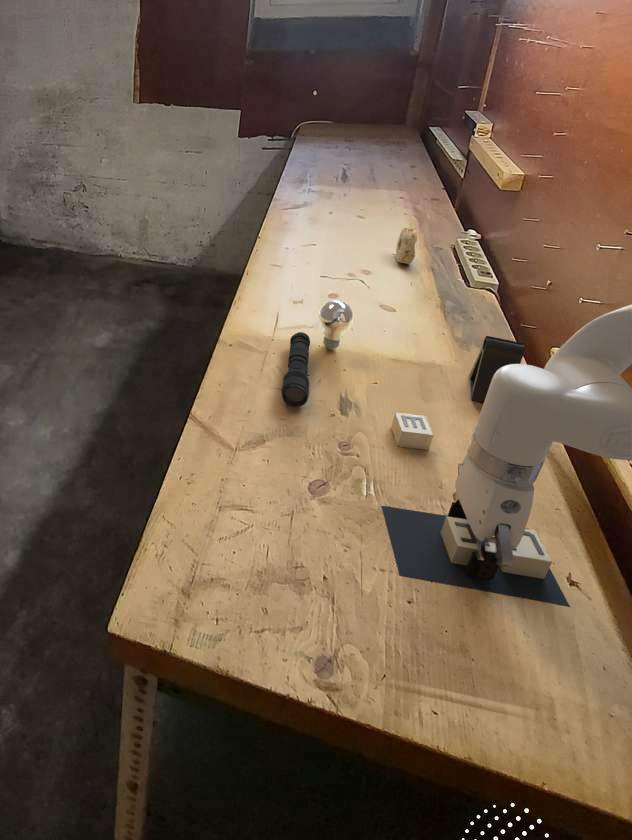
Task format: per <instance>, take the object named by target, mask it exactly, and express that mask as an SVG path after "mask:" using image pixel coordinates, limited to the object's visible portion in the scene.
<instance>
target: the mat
mask: <svg viewBox="0 0 632 840" xmlns="http://www.w3.org/2000/svg"><path fill="white" fill-rule="evenodd" d="M380 507H381V510H382V513H383V518H384V522H385V525H386V529H387V530H386V531H387V533H388V536H389V541H390V544H391V548H392V553H393V556H394V560H395V563H396V567H397V572H398V575H399V576H400V577H405V578H410V579H415V580H420V581H427V582H432V583H438V584H442V585H443V584H444V585H449V586H453V587H459V588H464V589H469V590H476V591H482V592H487V593H493V594H498V595H503V596H508V597H509V596H510V597H513V598H514V597H515V598H519V599H525V600H529V601H531V600H532V601H536V602H541V603H548V604H553V605H559V606H563V607H568V608H570V603H569V602H568V600H567V598H566V596H565V594H564V592H563V591H562V588H561V587H560V584H559V582H558V581H557V579H556V577H555V575H554V574H553V572H552V570H551V567H550V568H549V570H548V572H547V574H546V576H545V578H544V579H541V578H535V577H530V576H524V575H518V574H512V573H507V572H502V571H501V568H500V566H499V567H498V569H497V571H496V574H495V576H494V578H493V579H485V578H480V577H475V576H469V575H467V573H466V567H467V566H466V565H461V564H455V563H451V561H450V558H449V555H448V552H447V549H446V547H445V544H444V541H443V538H442V536H441V530H442V527H443V524H444V522H445V519H446V516H447V515H444V514H438V513H432V512H425V511H419V510H413V509H406V508H400V507H395V506H388V505H381V506H380ZM525 529H529V528H527V527H526V528H525Z"/></svg>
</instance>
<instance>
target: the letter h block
mask: <svg viewBox="0 0 632 840" xmlns="http://www.w3.org/2000/svg"><path fill="white" fill-rule="evenodd" d="M445 516H446V519H445V522H444V524H443V527H442V530H441V536H442V538H443V541H444V544H445V547H446V549H447V552H448V555H449V558H450V561H451V563H455V564H461V565H466V566H467V565H468V562H469V560H470V557H471V554H472V552H476V549H477V537H476V536H475V535H474V533H473V531H472V529H471V527H470V525H469V522H468V520H466V519H460V518H454V517H447V516H448V515H445ZM495 550H496V545H495V543H491V542H485V551H489V552H494V553H495Z"/></svg>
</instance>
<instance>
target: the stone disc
mask: <svg viewBox="0 0 632 840" xmlns="http://www.w3.org/2000/svg"><path fill="white" fill-rule="evenodd" d="M417 240H418V232H417V230H416V229H415V228H411V227H403V228H402V230H401V231H400V233H399V236H398V239H397V243H396V248H395V259H396V261H397V262H398V263H400V264H406V265H411V264H412V262H413V261H414V259H415V257H416V249H415V248H416V242H417Z"/></svg>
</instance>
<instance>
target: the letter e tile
mask: <svg viewBox="0 0 632 840" xmlns="http://www.w3.org/2000/svg"><path fill="white" fill-rule="evenodd" d="M390 427H391V430H392V434H393V437H394V440H395V442H396V446H397V447H399V448H400V447H401V448H408V449H414V450H415V449H416V450H421V451H422V450H423V451H430V448H431V446H432V445H431V444H432V441H433V438H434V433H433V430H432V428H431V425H430V423H429V421H428V419H427V416H426V415H422V414H421V415H419V414H412V413H403V412H394V415H393V419H392V423H391V426H390Z"/></svg>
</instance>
